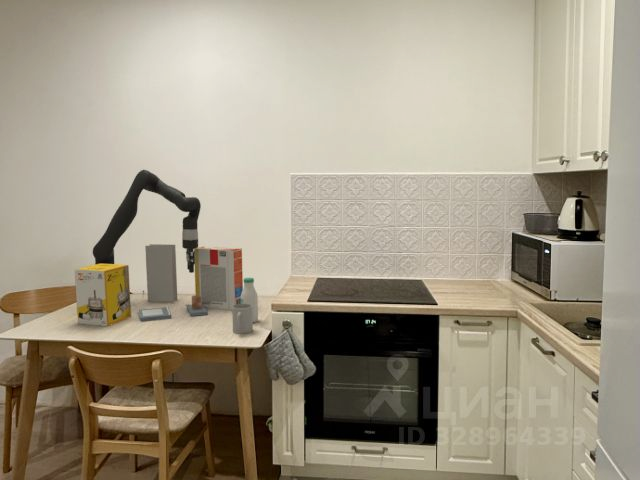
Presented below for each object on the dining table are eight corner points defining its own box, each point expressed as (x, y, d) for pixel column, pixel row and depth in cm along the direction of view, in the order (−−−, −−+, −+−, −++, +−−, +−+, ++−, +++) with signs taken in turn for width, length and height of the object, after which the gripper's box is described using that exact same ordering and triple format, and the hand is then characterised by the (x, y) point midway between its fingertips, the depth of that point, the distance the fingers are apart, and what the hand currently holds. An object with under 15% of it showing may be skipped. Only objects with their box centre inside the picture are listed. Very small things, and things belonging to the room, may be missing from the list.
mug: (235, 327, 227) (234, 303, 225) (254, 328, 226) (254, 303, 225) (228, 336, 215) (227, 310, 213) (248, 336, 214) (248, 310, 213)
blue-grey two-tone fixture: (190, 316, 245) (190, 300, 244) (186, 308, 259) (186, 293, 258) (207, 314, 247) (207, 299, 247) (202, 306, 262) (202, 292, 261)
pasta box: (243, 306, 263) (241, 248, 259) (235, 310, 256) (233, 250, 252) (204, 302, 271) (203, 246, 268) (196, 306, 264) (193, 248, 260)
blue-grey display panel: (140, 321, 236) (139, 317, 236) (138, 313, 251) (138, 309, 251) (171, 318, 241) (171, 314, 241) (168, 310, 256) (168, 306, 256)
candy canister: (260, 319, 239) (260, 277, 237) (253, 324, 232) (252, 280, 229) (245, 318, 242) (245, 276, 239) (238, 322, 234) (237, 279, 232)
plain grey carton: (177, 299, 278) (175, 244, 275) (173, 302, 273) (171, 246, 269) (152, 299, 280) (149, 244, 276) (147, 301, 274) (145, 245, 271)
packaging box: (131, 316, 245) (128, 265, 242) (107, 326, 229) (104, 271, 226) (102, 314, 250) (100, 263, 246) (77, 323, 234) (74, 269, 231)
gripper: (181, 236, 257) (181, 268, 259) (183, 240, 244) (184, 273, 246) (196, 236, 259) (196, 268, 261) (199, 239, 246) (200, 273, 248)
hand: (190, 270), depth 253 cm, fingers open, 8 cm apart
